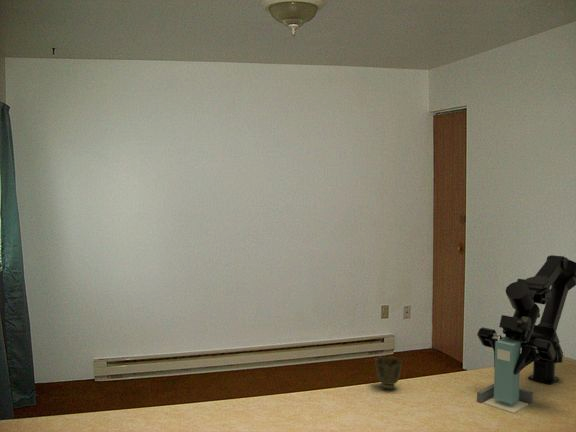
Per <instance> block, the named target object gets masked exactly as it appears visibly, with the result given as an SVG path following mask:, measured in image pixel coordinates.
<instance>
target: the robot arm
mask: <svg viewBox="0 0 576 432" xmlns="http://www.w3.org/2000/svg"><path fill="white" fill-rule="evenodd" d="M575 286H576V262H575V261H573V260H570V259H568V257H565V256H564V255H554V254H552V255H548V256H547V258H546V261H545V262H544V264H543V265H542V266H541V267H540V269H539V270H538V271H537V272H536V273H535V275H534V276H530V277H527V278H524V279H523V278H517V280H516V281H514V282H511V283H510V284H508V285H507V286H506V288H505V294H506V296H507V299H508V300H509V304H510V305H511V307H512V308H513V309H514V312H513V315H512V316H510V315H504V314H502V315H501V317H500V322H499V326H498V327H499V328H500V329H502V331H501V332H502V333H503V334H504V335H505V336H503V335H501V334H499V333H497V331H496V330H495V329H493V328H487V327H481V328H479V329H478V331H477V333H476V336H477V337H478V339H479V340H480V342H481V345H482V346H484V347H485V348H486V347H487V348H490V349H493V360H494V361H493V362H494V363H493V367H494V368H493V369H495V342H496V341H498V340H500V339H502V338H505V339H509V340H514V341H519V342H521V352H520V356H519V359H518V361H517V363H516V366H515V369H514V374H515V375H516V374H518V373H519V372H521V371H522V370H524V369H525V368H526V367H527V366H529V365H530V364H532V374H531V375H529V376H527V378H528V380H532V381H536V382H540V383H544V384H548V385H552V384H554V383H556V382H557V381H559V380H560V377H559V376H558V377H557V376H556V375H555V374H556V373H555V372H556V364H561V363H563V359H564V352H563V350H562V346H561V344H560V339H559V337H558V333H557V329H558V327H559V322H560V319H561V317H562V314H563V313H562V312H563V310H564V306H565V302H566V301H567V296H568V294H569V291H570V290H571V289H573V288H575ZM539 305H545V306H544V309H543V312H542V315H541V313H540V312H541V310H540V307H539ZM540 317H541V318H540ZM539 318H540V321H539V323H538V324H536V323H537V320H538V319H539Z"/></svg>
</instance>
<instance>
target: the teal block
mask: <svg viewBox="0 0 576 432" xmlns="http://www.w3.org/2000/svg"><path fill="white" fill-rule="evenodd" d="M521 349H522V348H521V342H519V341H514V340H509V339H505V338H502V339H500V340H498V341H496V342H495V368H494V371H493V372H494V375H493V377H494V378H493V384H494V396H493V397H494V399H496V400H499V401H503V402H506V403H509V404H512V403H514V402H515V401H517V400H518V401H519V389H520V380H521V379H520V377H521V375H520V374H521V373H520V372H521V371H520V372H519V373H518V374H516V375H515V374H514V369H515V366H516V363H517V361H518V359H519V356H520V354H521Z"/></svg>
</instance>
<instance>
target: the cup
mask: <svg viewBox="0 0 576 432" xmlns="http://www.w3.org/2000/svg"><path fill="white" fill-rule="evenodd" d="M374 365H375V366H374V367H375V374H376V379H377V380H378V381H379V382H380V383H381V384H380V385H381V386H380V387H381V388H382V389H383V390H385V391H390V390H394V389H395V386H396V385H395V384H396V383H398V382H399V380H400V377H401V371H402V366H403V361H402V360H400V358H397V357H396V356H393V357H392V356H388V358H384V356H381V355H379V356H378V358H377V357H375V359H374Z"/></svg>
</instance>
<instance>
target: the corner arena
mask: <svg viewBox="0 0 576 432" xmlns="http://www.w3.org/2000/svg"><path fill="white" fill-rule="evenodd" d="M476 402H478V403H481V404H482V403H483V404H484V405H487V406H490V407H493V408H496V409H498V410H499V409H500V410H502V411H505V412H508V413H512V414H516V413H517V412H519V411H521V410H522V409H524V408H526V407H527V406H529V403H530V404H532V403H534V392H533V391H530V390H526V389H523V388H522V389H521V388H519V399H518V400H517V401H515V402H514V403H512V404H509V403H506V402H503V401H499V400H496V399H494V383H492V384H490V385H488V386H486V387H484V388H483V389H481V390H479V391H477V392H476Z"/></svg>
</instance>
